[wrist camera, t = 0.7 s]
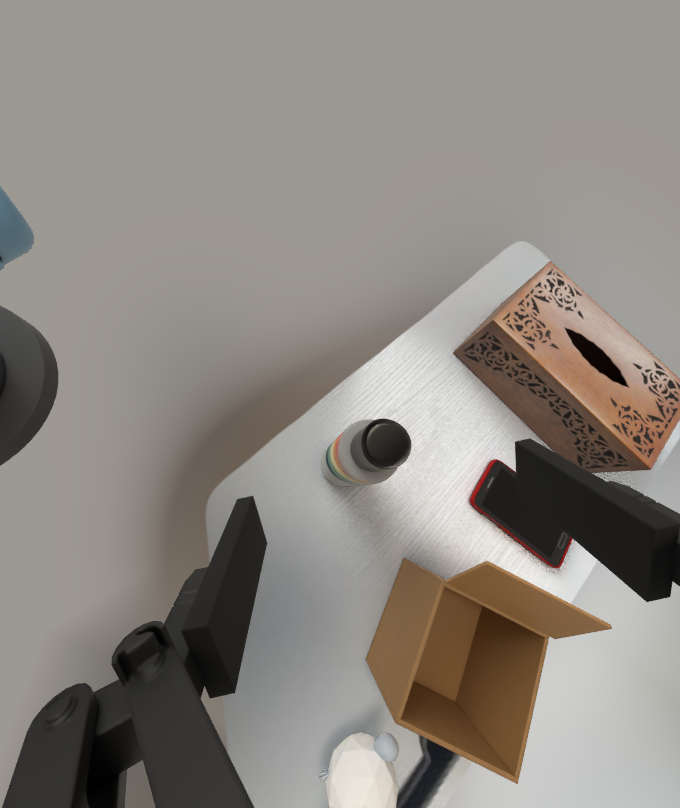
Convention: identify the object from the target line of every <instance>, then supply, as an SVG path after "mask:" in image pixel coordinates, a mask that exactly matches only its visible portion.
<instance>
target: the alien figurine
mask: <svg viewBox="0 0 680 808" xmlns="http://www.w3.org/2000/svg"><path fill="white" fill-rule="evenodd" d="M398 751H399V748H398V743H397V741H396V739H395V738H394V737H393V736H392V735H391V734H390V733H388V732H381V733H380V734H379V736H378V737H377V739H375V738H374V737H373V736H371V735H368V734H365V733H362V732H360V733H356V734H352V735H350V736H349V737H347V738H346V739H344V740H343V742H342V743H341V744H340V745H339V746H338V747H337V748H336V749H335V750H334V751H333V754H332V757H331V761H330V765H329V769H326V768H323V769H322V771H327V772H323V773H321V774H320V775H319V777H321V776H323V775H325V774H327V775H326V776H324V777H322V778H321V780H320V781H322V780H323V779H324V778H326V780H325V784H326V790H327V797H328V803H329V808H396V802H397V793H398V784H397V780H396V776H395V772H394V768H393V764H392V762H393V761H395V760H396V758H397V756H398Z"/></svg>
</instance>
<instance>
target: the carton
mask: <svg viewBox="0 0 680 808" xmlns="http://www.w3.org/2000/svg"><path fill="white" fill-rule="evenodd" d="M548 639H549V636H548V635H546V634H544V633H542V632H540V631H538V630H536V629H534V628H532V627H531V626H529V625H527V624H525V623H523V622H521V621H519V620H517V619H515V618H513V617H511V616H509V615H507V614H505V613H503V612H501V611H499V610H497V609H496V608H494V607H492V606H490V605H488V604H486V603H484V602H482V601H480V600H478V599H476V598H474V597H472V596H470V595H468V594H466V593H464V592H462V591H461V590H459V589H457V588H455V587H453V586H451V585H449V584H447V583H446V579H444V578H442V577H440V576H438V575H436V574H434V573H432V572H431V571H429V570H427V569H425V568H423V567H421V566H419V565H417V564H415V563H413V562H411V561H409V560H407V559H405V558H404V559H403V561H402V564H401V567H400V569H399V572H398V575H397V577H396V580H395V583H394V585H393V588H392V591H391V593H390V596H389V599H388V601H387V604H386V607H385V609H384V612H383V615H382V617H381V620H380V623H379V625H378V628H377V631H376V633H375V636H374V639H373V641H372V644H371V647H370V649H369V652H368V655H367V657H366V661H367V663H368V665H369V668H370V670H371V672H372V674H373V676H374V678H375V680H376V683H377V685H378V687H379V689H380V691H381V693H382V695H383V698H384V700H385V702H386V704H387V706H388V708H389V710H390V713H391V715H392V717H393V719H394V721H395V723H397V724H399V725H401V726H403V727H405V728H407V729H409V730H411V731H413V732H415V733H417V734H419V735H421V736H423V737H425V738H427V739H429V740H431V741H433V742H435V743H437V744H439V745H441V746H443V747H445V748H447V749H449V750H451V751H453V752H455V753H457V754H459V755H461V756H463V757H465V758H467V759H469V760H471V761H473V762H475V763H477V764H479V765H481V766H483V767H485V768H487V769H489V770H491V771H493V772H495V773H497V774H499V775H501V776H503V777H504V778H507V779H508V780H511V781H513V782H515V783H516V784H518V778H519V775H520V770H521V766H522V761H523V756H524V752H525V747H526V742H527V738H528V733H529V728H530V724H531V719H532V714H533V710H534V705H535V701H536V696H537V691H538V686H539V682H540V677H541V673H542V668H543V663H544V659H545V654H546V649H547V645H548Z"/></svg>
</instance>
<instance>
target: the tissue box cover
mask: <svg viewBox="0 0 680 808" xmlns="http://www.w3.org/2000/svg"><path fill="white" fill-rule="evenodd" d="M453 354H455V355H456V356H457V357H458V358H459V359H460V360H461V361H462V362H463V363H464V364H465V365H466V366H467V367H468V368H469V369H470V370H471V371H472V372H473V373H474V374H475V375H476V376H477V377H478V378H479V379H480V380H481V381H482V382H483V383H484V384H485V385H486V386H487V387H488V388H489V389H490V390H491V391H493V392H494V393H495V394H496V395H497V396H498V397H499V398H500V399H501V400H502V401H503V402H504V403H505V404H506V405H507V406H508V407H509V408H510V409H511V410H512V411H513V412H514V413H515V414H516V415H517V416H518V417H519V418H520V419H521V420H522V421H523V422H524V423H525V424H526V425H527V426H528V427H529V428H531V429H532V430H533V431H534V432H535V433H536V434H537V435H538V436H539V437H540V438H541V439H542V440H543V441H544V442H545V443H546V444H547V445H548V446H549V447H550V448H551V449H552V450H553V451H554V452H555V453H556V454H558V455H560V456H562V457H563V458H565V459H567V460H569V461H571V462H572V463H574V464H576V465H578V466H579V467H581V468H583V469H585V470H586V471H588V472H590V473H600V472H618V471H636V470H651V468H652V467H653V465H654V463H655V461H656V460H657V458H658V456H659V454H660V453H661V451H662V449H663V448H664V446H665V444H666V442H667V441H668V439H669V437H670V435H671V434H672V432H673V430H674V428H675V427H676V425H677V423H678V421H679V420H680V379H679V378H678V377H677V376H676V375H675V374H674V373H673V372H672V371H671V370H669V369H668V368H667V367H666V366H665V365H664V364H663V363H662V362H661V361H660V360H658V359H657V358H656V357H655V356H654V355H653V354H652V353H651V352H650V351H649V350H647V349H646V348H645V347H644V346H643V345H642V344H641V343H640V342H639V341H638V340H637V339H635V338H634V337H633V336H632V335H631V334H630V333H629V332H628V331H627V330H626V329H624V328H623V327H622V326H621V325H620V324H619V323H618V322H617V321H616V320H615V319H613V318H612V317H611V316H610V315H609V314H608V313H607V312H606V311H605V310H603V309H602V308H601V307H600V306H599V305H598V304H597V303H596V302H595V301H594V300H593V299H591V298H590V297H589V296H588V295H587V294H586V293H585V292H584V291H583V290H582V289H580V288H579V287H578V286H577V285H576V284H575V283H574V282H573V281H571V279H570V278H568V277H567V276H566V275H565V274H564V273H563V272H562V271H561V270H560V269H559V268H557V267H556V266H555V265H554V264H553V263H552V262H551V261H550V262H549V263H548V264H547V265H545V266H544V267H543V268H542V269H541V270H540V271H538V272H537V273H536V274H535V275H534V276H533V277H532V278H530V279H529V280H528V281H527V282H526V283H525V284H524V285H522V286H521V287H520V288H519V289H518V290H517V291H515V292H514V293H513V294H512V295H511V296H510V297H509V298H507V299H506V300H505V301H504V302H503V303H502V304H501V305H500V306H499V307H498V308H497V309H496V310H495V311H494V312H493V313H492V314H491V315H490V316H489V317H488V318H487V319H486V320H485V321H484V322H483V323H482V324H481V325H480V326H479V327H478V328H477V329H476V330H475V331H474V332H473V333H472V334H471V335H470V336H469V337H468V338H467V339H466V340H465V341H464V342H463V343H462V344H461V345H460V346H459V347H458V348H457V349H456V350H455V351H454V352H453Z"/></svg>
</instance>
